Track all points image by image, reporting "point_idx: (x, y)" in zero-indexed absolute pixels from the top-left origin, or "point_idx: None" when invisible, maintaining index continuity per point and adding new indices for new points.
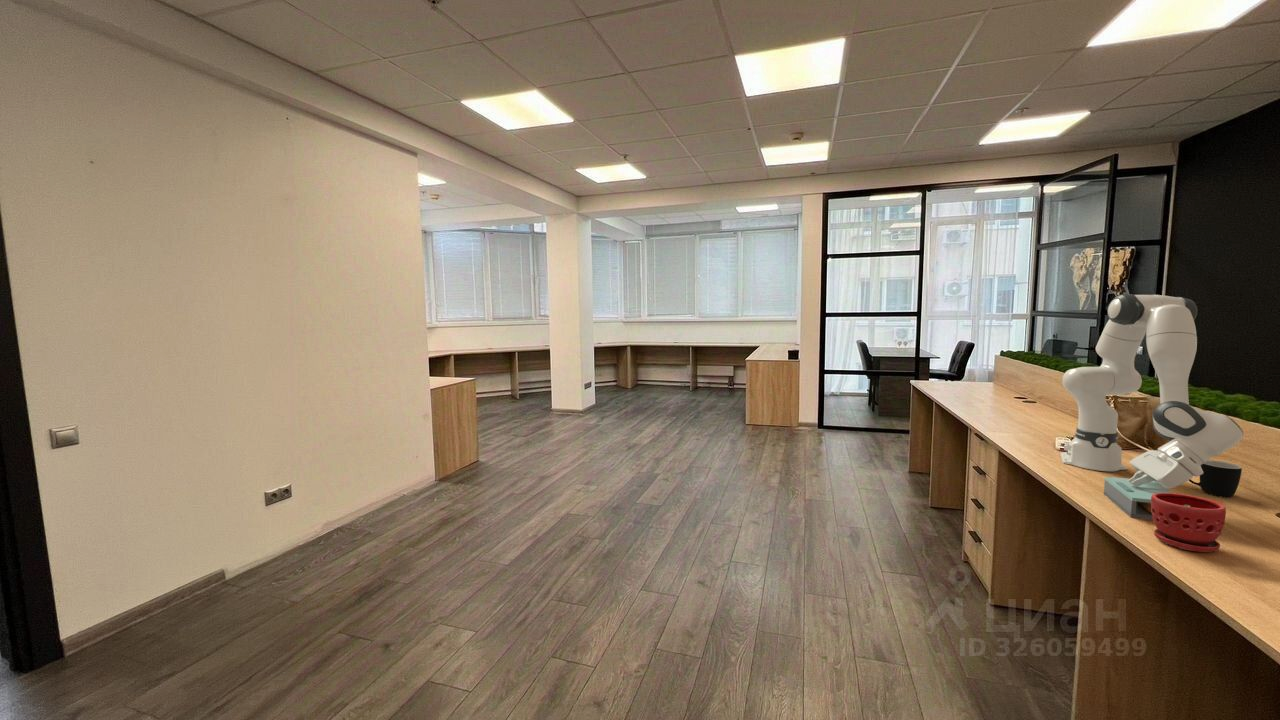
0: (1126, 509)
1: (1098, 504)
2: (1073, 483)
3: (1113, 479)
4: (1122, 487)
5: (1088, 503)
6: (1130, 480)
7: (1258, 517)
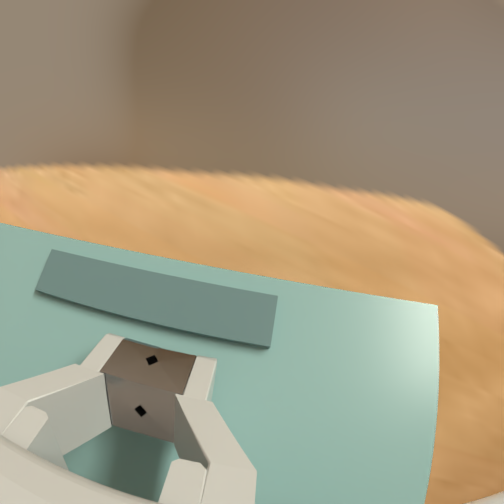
0: None
1: (177, 225)
2: (483, 275)
3: (381, 334)
4: (122, 267)
5: (184, 190)
6: (168, 355)
7: None
